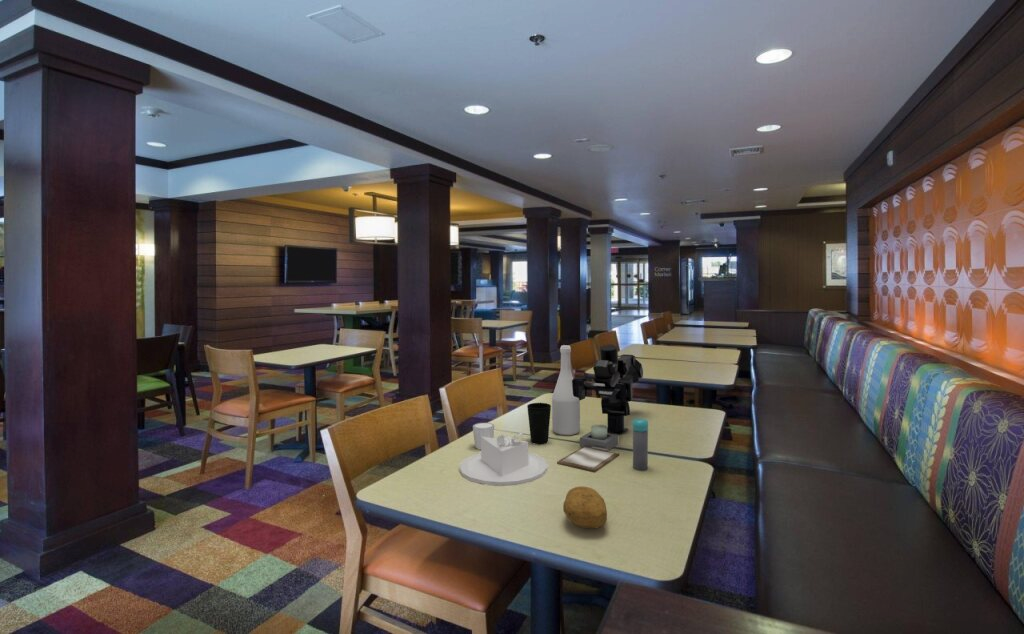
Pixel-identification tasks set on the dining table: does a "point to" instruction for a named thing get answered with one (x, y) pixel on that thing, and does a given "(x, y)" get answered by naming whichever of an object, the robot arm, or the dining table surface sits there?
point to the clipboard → (588, 458)
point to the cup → (539, 422)
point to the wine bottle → (565, 399)
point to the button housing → (599, 441)
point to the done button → (599, 432)
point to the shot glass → (482, 432)
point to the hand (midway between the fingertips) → (594, 400)
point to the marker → (640, 444)
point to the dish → (503, 462)
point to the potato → (585, 507)
